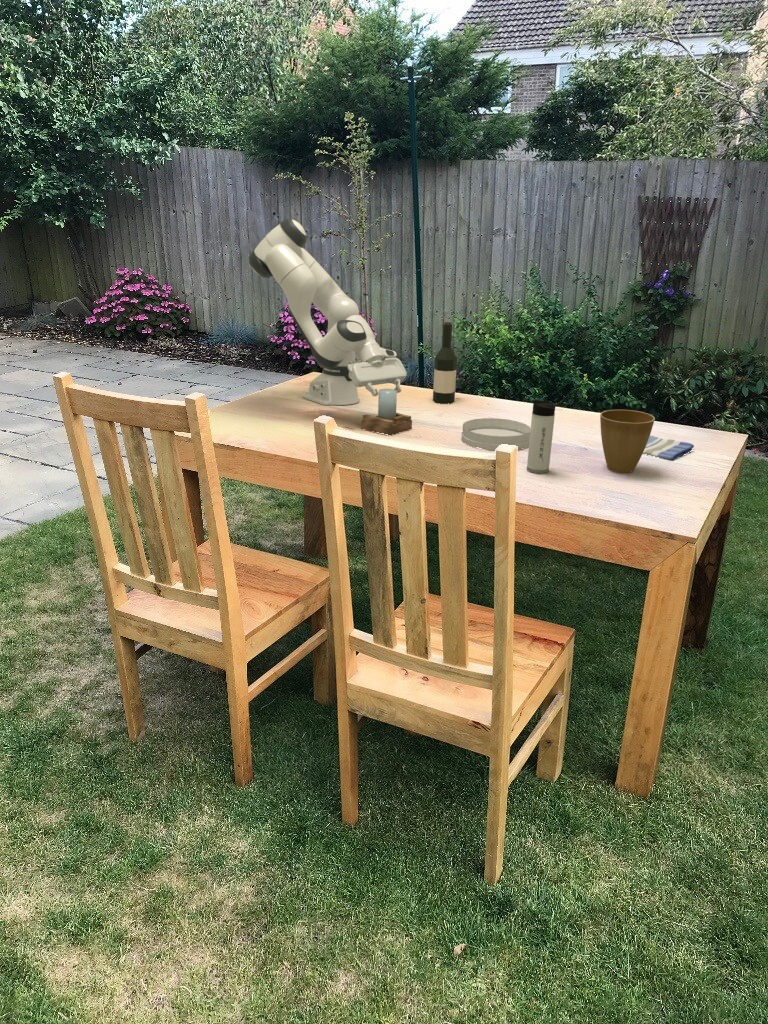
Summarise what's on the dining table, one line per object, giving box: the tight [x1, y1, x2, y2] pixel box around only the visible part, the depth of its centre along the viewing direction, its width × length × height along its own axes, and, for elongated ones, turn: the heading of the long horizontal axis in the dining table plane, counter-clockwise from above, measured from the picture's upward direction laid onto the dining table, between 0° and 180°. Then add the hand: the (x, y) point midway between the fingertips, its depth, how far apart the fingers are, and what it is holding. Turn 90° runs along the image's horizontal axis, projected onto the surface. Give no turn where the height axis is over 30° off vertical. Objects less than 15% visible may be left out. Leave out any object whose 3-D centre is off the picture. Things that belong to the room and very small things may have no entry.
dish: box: [460, 417, 531, 452], centre depth 251 cm, size 22×22×5 cm
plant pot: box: [599, 409, 656, 474], centre depth 225 cm, size 15×15×16 cm
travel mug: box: [526, 399, 556, 475], centre depth 221 cm, size 6×7×20 cm
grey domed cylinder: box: [377, 388, 398, 421], centre depth 259 cm, size 6×6×10 cm
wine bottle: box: [432, 321, 458, 405], centre depth 295 cm, size 8×8×30 cm
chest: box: [360, 412, 413, 436], centre depth 261 cm, size 12×12×5 cm
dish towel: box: [642, 435, 695, 461], centre depth 249 cm, size 17×24×3 cm
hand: (387, 393), depth 259 cm, fingers open, 8 cm apart
